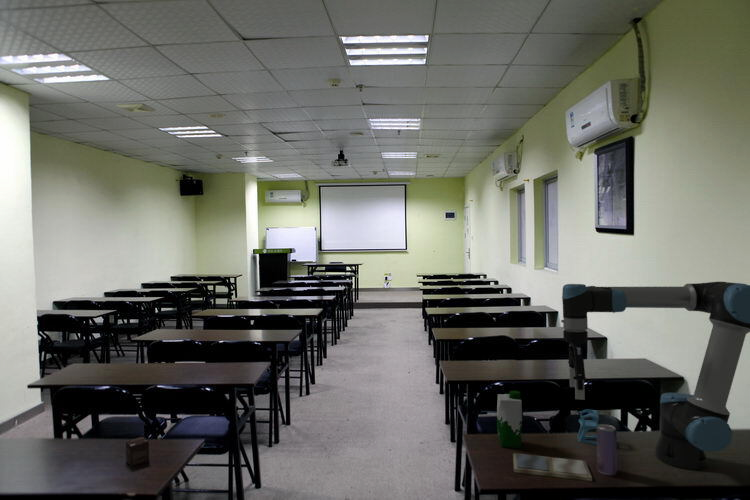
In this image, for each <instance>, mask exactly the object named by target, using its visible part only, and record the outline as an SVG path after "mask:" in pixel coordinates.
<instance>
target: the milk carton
mask: <svg viewBox="0 0 750 500" xmlns="http://www.w3.org/2000/svg"><path fill="white" fill-rule="evenodd" d="M521 397H522V396H521V392H520V391H519V390H510V391H509V392H508V393H504V394H501V393H500V394H499V393H498V394H497V404H496V426H497V428H496V429H497V436H498V440H499V442H500V443H499V444H500V446H501V448H515V449H521V448H522V437H523V436H522V435H523V416H522V415H523V412H522V411H523V409H522V408H523V407H522V405H523V403H522V398H521Z"/></svg>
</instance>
